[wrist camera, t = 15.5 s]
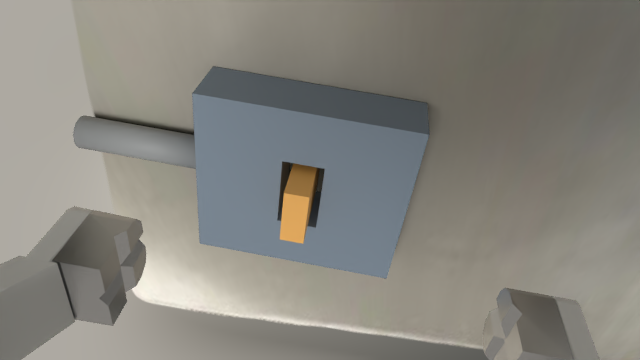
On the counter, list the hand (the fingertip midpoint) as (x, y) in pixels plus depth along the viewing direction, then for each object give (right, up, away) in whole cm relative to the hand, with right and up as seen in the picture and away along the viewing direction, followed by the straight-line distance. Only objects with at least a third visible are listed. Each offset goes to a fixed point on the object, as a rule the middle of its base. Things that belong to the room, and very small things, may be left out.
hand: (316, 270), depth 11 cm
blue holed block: (-7, +5, +34) cm, 35 cm away
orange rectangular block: (-1, +4, +34) cm, 34 cm away
